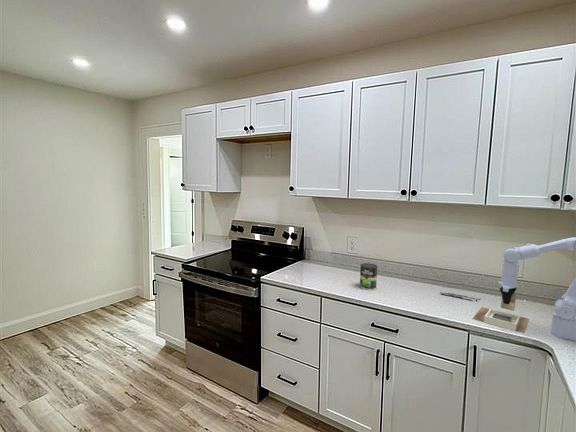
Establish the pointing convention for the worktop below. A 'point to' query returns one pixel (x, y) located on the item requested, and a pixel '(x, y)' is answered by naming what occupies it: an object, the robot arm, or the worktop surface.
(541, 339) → the worktop surface
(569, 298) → the robot arm
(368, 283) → the coffee can
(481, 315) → the board
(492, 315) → the cream square tray
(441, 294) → the driftwood
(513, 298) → the tall bronze block
